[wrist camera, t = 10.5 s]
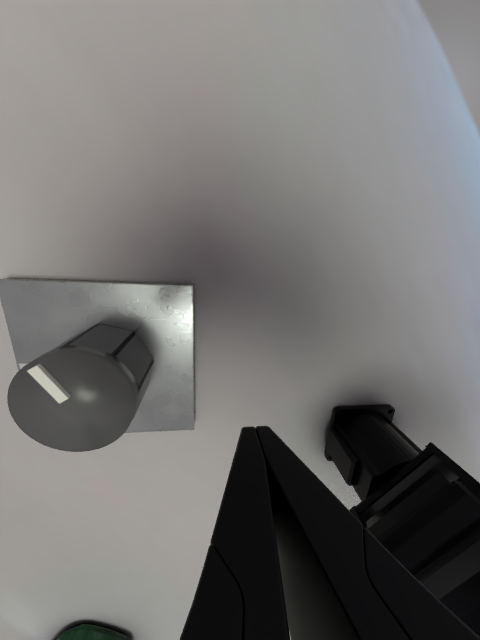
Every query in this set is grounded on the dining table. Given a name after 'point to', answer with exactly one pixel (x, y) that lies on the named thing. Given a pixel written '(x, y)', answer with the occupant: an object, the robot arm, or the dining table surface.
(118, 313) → the mounting plate
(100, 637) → the coffee jar
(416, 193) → the dining table surface
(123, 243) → the dining table surface
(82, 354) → the knob
